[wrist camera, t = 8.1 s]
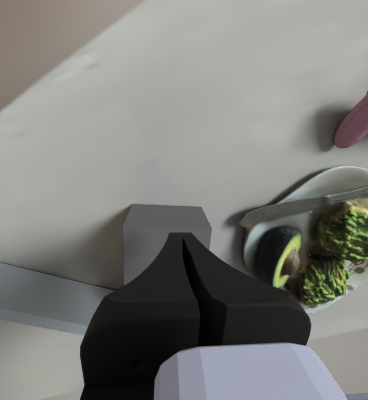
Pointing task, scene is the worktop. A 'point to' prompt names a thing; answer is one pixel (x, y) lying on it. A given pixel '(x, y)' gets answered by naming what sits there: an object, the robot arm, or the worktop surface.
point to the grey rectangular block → (157, 233)
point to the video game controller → (353, 125)
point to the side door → (47, 300)
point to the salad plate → (312, 238)
